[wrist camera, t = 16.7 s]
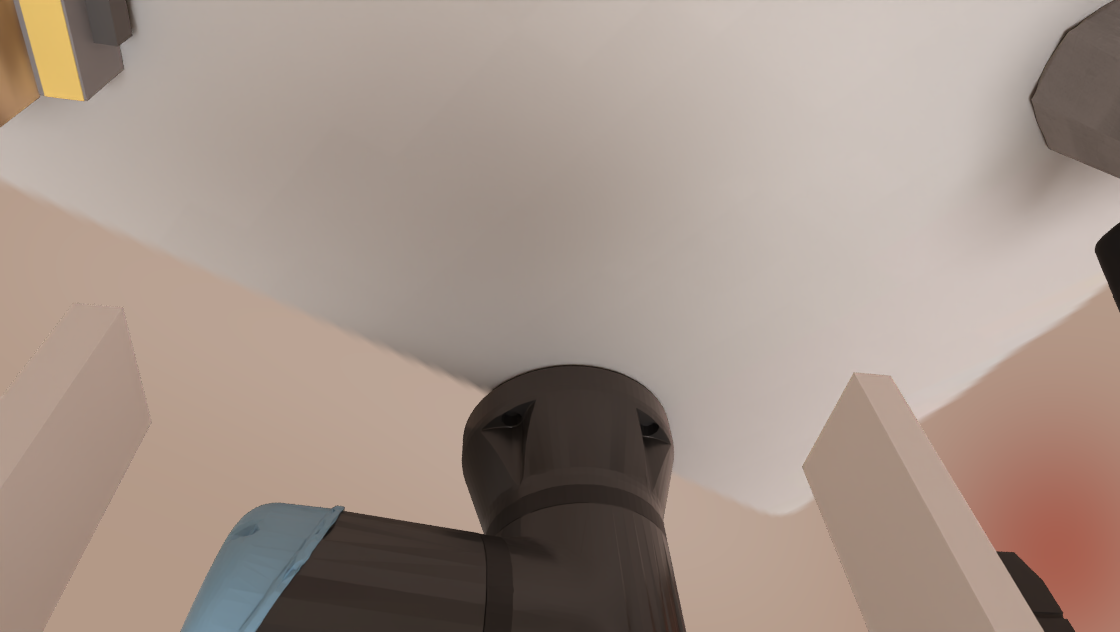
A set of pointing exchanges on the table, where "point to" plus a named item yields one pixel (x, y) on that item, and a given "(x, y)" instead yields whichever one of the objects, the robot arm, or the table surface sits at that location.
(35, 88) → the pallet
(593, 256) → the table surface
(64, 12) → the block
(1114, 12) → the coffeepot
